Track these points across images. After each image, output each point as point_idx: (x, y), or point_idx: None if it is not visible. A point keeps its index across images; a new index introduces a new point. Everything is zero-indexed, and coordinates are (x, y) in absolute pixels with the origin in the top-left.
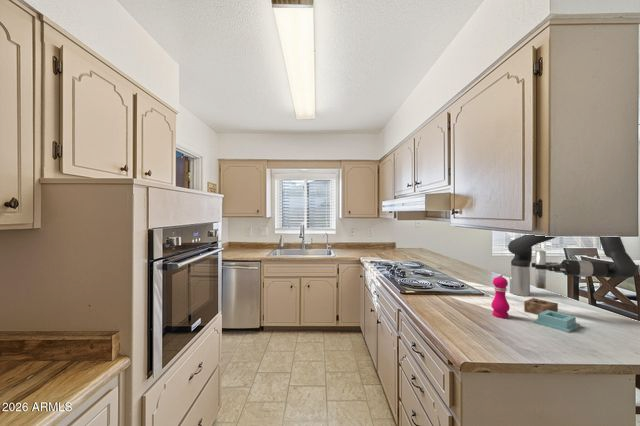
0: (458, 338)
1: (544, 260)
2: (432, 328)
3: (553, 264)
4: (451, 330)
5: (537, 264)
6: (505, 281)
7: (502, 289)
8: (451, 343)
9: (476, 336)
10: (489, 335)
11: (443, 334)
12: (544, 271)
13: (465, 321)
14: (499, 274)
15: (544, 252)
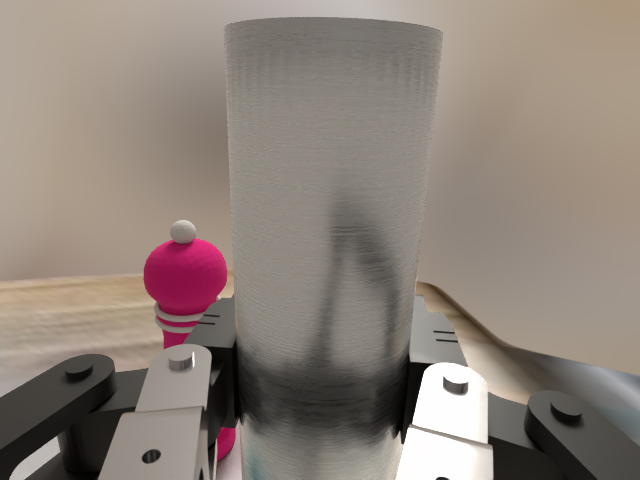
0: (30, 298)
1: (233, 262)
2: (110, 276)
3: (116, 442)
4: (85, 297)
5: None
6: (146, 265)
7: (156, 304)
8: (10, 286)
9: (21, 326)
10: (11, 350)
11: (66, 284)
12: (242, 467)
13: (146, 329)
14: (178, 221)
15: (230, 55)
